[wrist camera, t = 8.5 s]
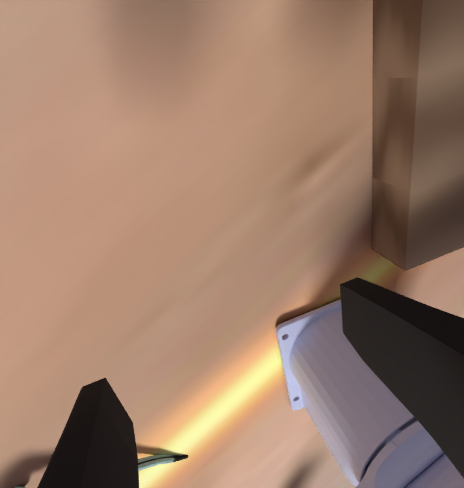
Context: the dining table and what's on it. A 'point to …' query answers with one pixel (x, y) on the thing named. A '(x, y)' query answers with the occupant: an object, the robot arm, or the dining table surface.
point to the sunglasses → (154, 461)
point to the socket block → (418, 129)
